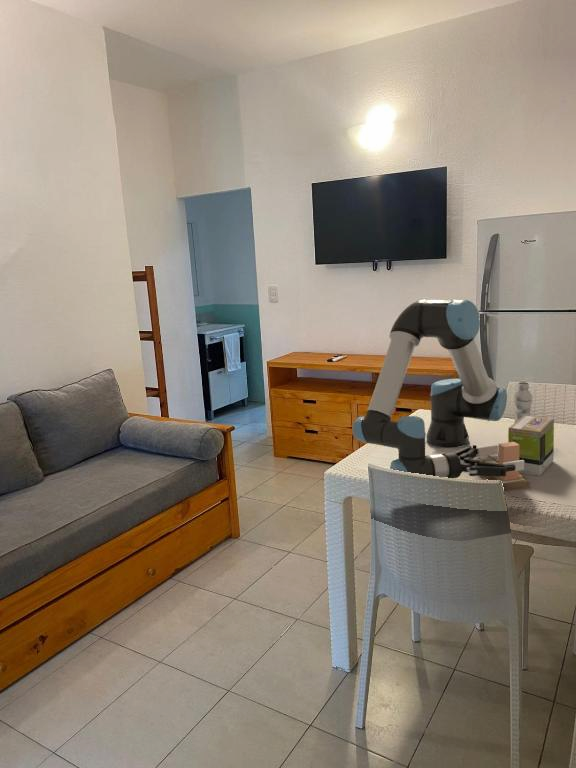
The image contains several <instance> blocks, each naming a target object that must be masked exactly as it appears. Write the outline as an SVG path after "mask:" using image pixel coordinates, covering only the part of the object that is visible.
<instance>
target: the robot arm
mask: <svg viewBox="0 0 576 768" xmlns="http://www.w3.org/2000/svg"><path fill="white" fill-rule="evenodd" d="M480 325H481V321H480V312H479V310H478V308H477V306H476V305H475V303H474V302H472V301H471V300H469V299H460V298H455V299H454V298H453V299H427V298H426V299H424V298H423V299H420V300H417V301H414V302H412V303H410V305H408V306H407V307H406V308H405V309H403V311H402V312H401V313H400V314H399V315H398V317H397V318H396V320H395V321H394V323H393V325H392V326H391V330H390V333H389V339H390V343H389V346H388V349H387V351H386V355H385V357H384V359H383V360H384V361H383V364H382V366H381V369H380V372H379V375H378V378H377V381H376V384H375V386H374V387H375V388H374V390H373V392H372V396H371V399H370V401H369V405H368V407H367V410H366V412H365V416H359V417H357V418H356V420H354V422H353V424H352V435H353V438H354V439H355V440H356V441H358V442H363V443H366V444H371V445H375V446H376V445H377V446H383V447H387V448H393V449H397V450H398V458H397V459H394V460H392V461H390V466H389V470H390V469H393V470H399V471H404V472H411V473H419V474H426V475H433V476H439V477H448V478H452V479H457V478H459V477H460V476H461V474H462V473H468V476H470V477H476V476H479V477H481V476H503V477H505V476H506V472H511V471H518V470H524V460H518V461H511V462H504V463H502V464H494V463H485V462H480V461H479V460H473V458H474V457H476V456H478V457H482V456H495V455H498V445H497V444H495V445H490V446H482V447H477V444H472V445H468V444H469V442H470V436H469V432H468V430H467V426H466V424H465V419H464V418H468V419H475V420H480V421H481V420H482V421H487V422H490V421H491V422H499V421H500V420H501V419H502V418H503V416H504V413H505V411H506V407H507V402H508V393H507V389H505V388H503V387H498V386H497V384H496V382H495V380H493V379H492V378H491V377H489V375H488V373H487V369H486V367H485V365H484V361H483V359H482V356H481V354H480V352H479V349H478V346H477V343H476V340H475V338H476V336H477V335H478V333H479V331H480ZM423 338H433V339H434V338H436V339H437V341H438V343H439V345H440V346H441V347H442V348H443V349H445V350H447V351H448V353H449V356H450V358H451V360H452V363H453V365H454V368H455V370H456V373H457V374H458V377H459V378H448V379H447V378H446V379H441V380H438V381H435V382H433V383H432V384H431V387H430V394H429V396H430V416H431V417H430V424H429V427H428V429H427V433H426V429H425V428H426V427H425V425H426V424H425V421H424V419H423V418H421V417H419V416H416V415H415V416H414V415H406V416H401V417H399V419H398V420H397V421H391V420H392V416H393V413H394V410H395V409H396V405H397V401H398V399H399V395H400V392H401V389H402V387H403V384H404V380H405V377H406V375H407V371H408V368H409V365H410V362H411V359H412V356H413V353H414V351H415V348H416V347H418V346H419V345H420V342H421V340H422V339H423ZM426 443H427V444H429V445H431V446H433V447H438V448H445V449H452V448H454V449H455V448H460V449H458V450H456V451H451V452H444V453H435V454H428V455H426ZM466 445H468V446H466ZM461 447H463V448H461Z"/></svg>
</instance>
